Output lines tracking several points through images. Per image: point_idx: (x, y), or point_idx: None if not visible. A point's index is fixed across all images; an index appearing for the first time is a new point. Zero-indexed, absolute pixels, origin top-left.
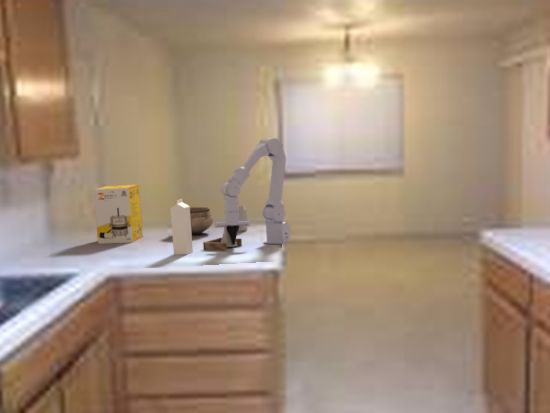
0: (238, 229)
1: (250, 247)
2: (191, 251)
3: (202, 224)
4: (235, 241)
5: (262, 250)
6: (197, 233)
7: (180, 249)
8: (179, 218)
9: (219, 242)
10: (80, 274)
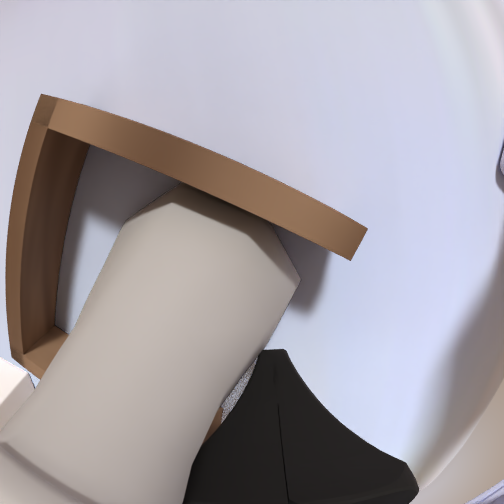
0: (383, 462)
1: (412, 323)
2: (32, 390)
3: None
4: (284, 308)
5: (446, 410)
6: None
7: None
8: None
9: (67, 157)
10: None
